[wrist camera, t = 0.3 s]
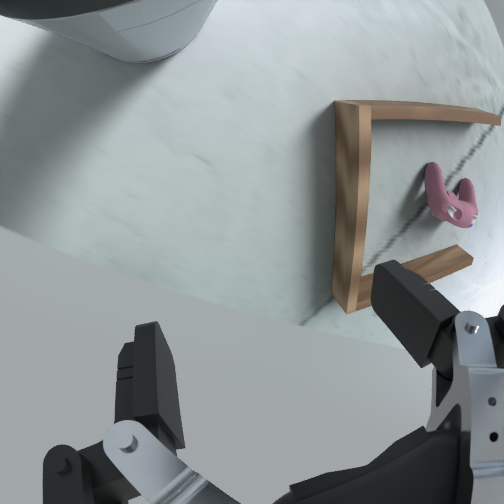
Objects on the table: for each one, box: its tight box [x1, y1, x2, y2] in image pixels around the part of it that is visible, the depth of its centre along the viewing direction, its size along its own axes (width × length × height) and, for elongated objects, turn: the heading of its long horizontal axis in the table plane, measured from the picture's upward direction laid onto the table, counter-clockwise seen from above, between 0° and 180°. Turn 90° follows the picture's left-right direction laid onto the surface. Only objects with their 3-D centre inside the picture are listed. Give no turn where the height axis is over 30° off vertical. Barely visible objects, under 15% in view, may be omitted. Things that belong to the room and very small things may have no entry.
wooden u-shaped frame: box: [331, 100, 501, 314], centre depth 30 cm, size 22×23×4 cm
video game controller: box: [424, 162, 479, 228], centre depth 31 cm, size 10×5×7 cm, turn 77°
